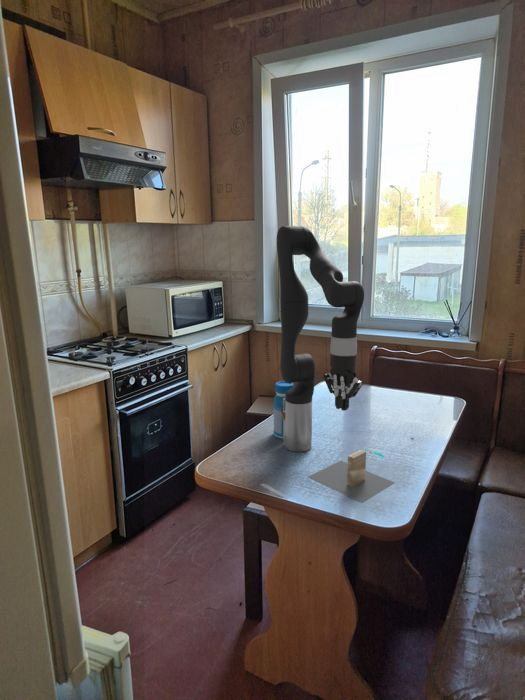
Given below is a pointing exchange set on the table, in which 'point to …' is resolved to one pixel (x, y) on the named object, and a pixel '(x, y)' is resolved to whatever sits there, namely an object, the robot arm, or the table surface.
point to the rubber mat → (338, 481)
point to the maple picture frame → (356, 468)
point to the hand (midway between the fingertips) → (341, 408)
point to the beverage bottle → (280, 406)
